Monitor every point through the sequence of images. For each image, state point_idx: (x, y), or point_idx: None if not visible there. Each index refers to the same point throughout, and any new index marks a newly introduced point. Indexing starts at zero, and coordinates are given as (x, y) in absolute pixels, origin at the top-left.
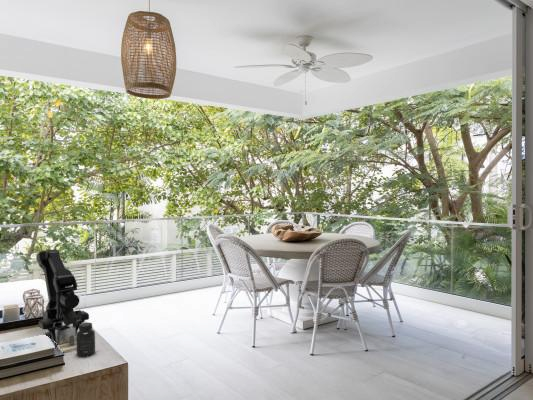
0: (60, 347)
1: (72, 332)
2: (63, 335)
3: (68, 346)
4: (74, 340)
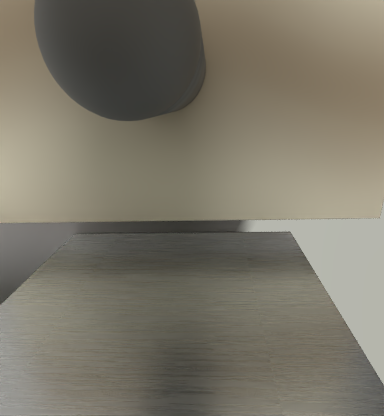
0: (373, 86)
1: (16, 363)
2: (260, 352)
3: (244, 26)
4: (73, 248)
